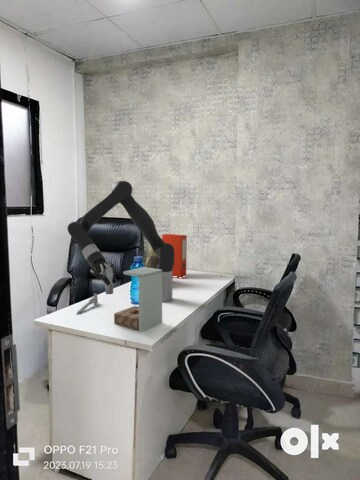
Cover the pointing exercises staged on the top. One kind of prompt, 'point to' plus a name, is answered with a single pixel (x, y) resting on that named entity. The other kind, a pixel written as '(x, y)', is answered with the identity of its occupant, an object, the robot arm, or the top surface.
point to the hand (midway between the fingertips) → (112, 283)
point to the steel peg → (110, 277)
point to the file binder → (178, 252)
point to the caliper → (92, 300)
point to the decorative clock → (152, 260)
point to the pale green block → (149, 296)
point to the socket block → (128, 318)
